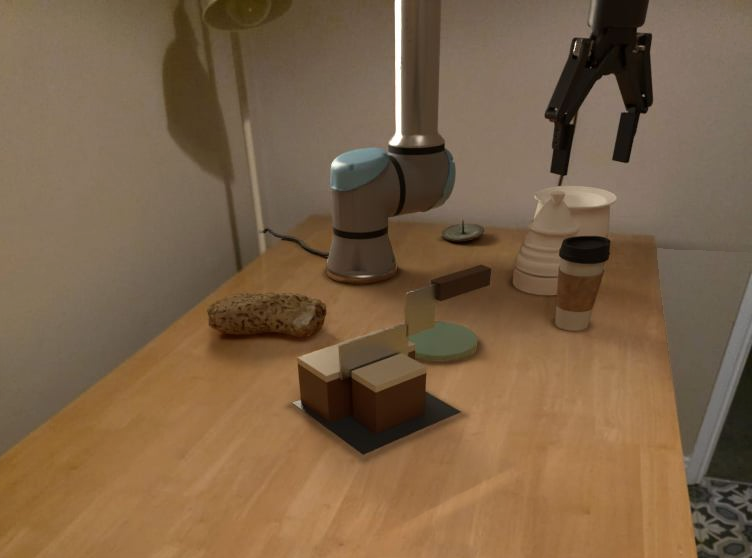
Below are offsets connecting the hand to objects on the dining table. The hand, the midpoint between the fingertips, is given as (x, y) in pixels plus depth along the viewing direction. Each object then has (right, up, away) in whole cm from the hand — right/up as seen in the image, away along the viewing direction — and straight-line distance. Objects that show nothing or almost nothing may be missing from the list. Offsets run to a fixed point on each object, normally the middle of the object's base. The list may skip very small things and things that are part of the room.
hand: (590, 167), depth 101 cm
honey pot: (+3, -5, +37) cm, 38 cm away
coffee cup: (+3, -18, +21) cm, 28 cm away
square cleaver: (-27, -29, -3) cm, 40 cm away
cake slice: (-31, -38, -4) cm, 49 cm away
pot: (+12, +7, +52) cm, 54 cm away
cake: (-35, -35, 0) cm, 50 cm away
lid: (-11, +14, +62) cm, 64 cm away
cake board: (-33, -37, -2) cm, 50 cm away
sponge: (-52, -20, +21) cm, 60 cm away
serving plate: (-22, -23, +15) cm, 35 cm away
